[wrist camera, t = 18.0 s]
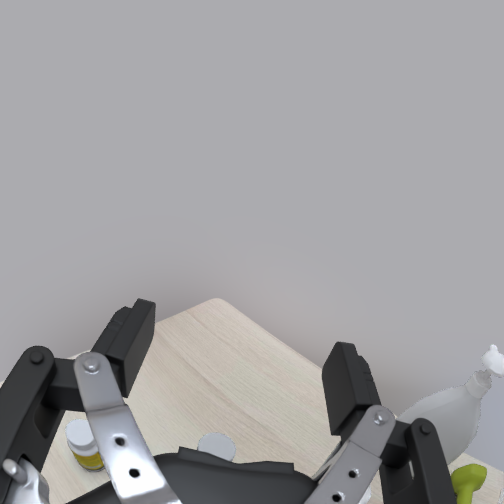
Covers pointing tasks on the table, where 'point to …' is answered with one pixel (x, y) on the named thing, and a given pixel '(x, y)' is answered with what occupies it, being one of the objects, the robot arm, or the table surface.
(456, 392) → the soap bottle
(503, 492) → the action figure
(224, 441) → the bottle
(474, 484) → the dumbbell
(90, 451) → the supplement bottle
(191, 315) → the table surface
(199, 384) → the table surface
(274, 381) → the table surface
